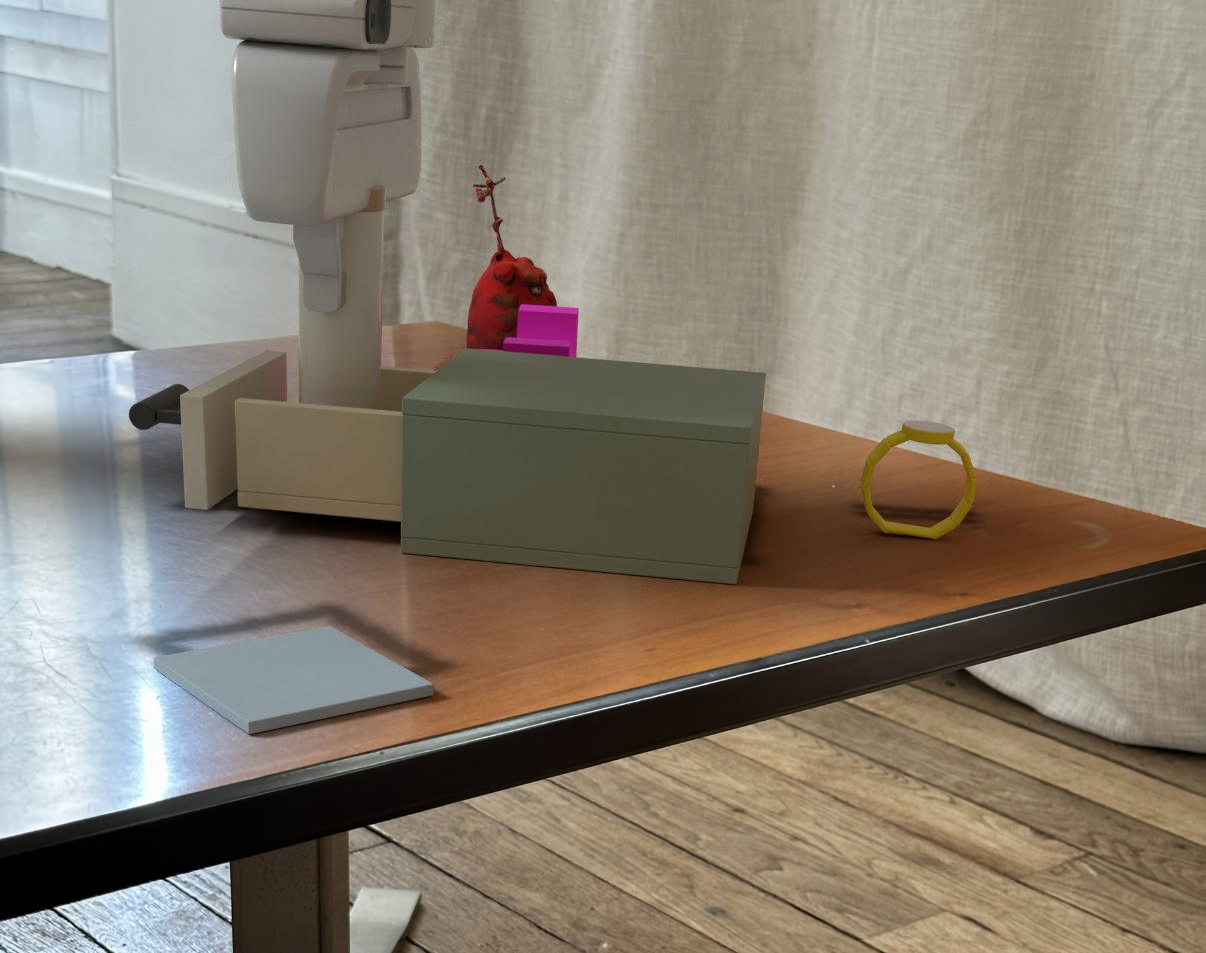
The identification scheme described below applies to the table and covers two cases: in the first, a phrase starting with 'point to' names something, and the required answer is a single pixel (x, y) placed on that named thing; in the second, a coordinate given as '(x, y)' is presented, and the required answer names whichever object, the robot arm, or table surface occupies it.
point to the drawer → (285, 442)
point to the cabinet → (582, 464)
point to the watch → (928, 435)
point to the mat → (291, 678)
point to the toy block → (545, 331)
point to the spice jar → (348, 321)
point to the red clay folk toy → (502, 289)
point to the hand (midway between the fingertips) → (339, 302)
